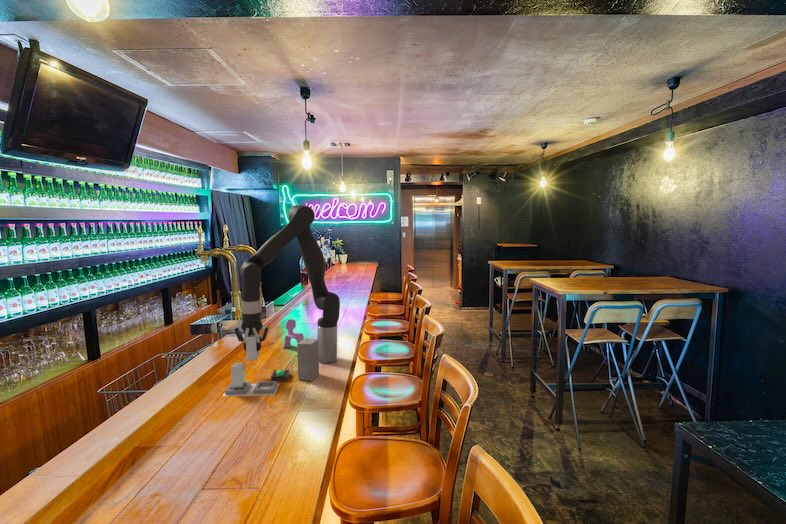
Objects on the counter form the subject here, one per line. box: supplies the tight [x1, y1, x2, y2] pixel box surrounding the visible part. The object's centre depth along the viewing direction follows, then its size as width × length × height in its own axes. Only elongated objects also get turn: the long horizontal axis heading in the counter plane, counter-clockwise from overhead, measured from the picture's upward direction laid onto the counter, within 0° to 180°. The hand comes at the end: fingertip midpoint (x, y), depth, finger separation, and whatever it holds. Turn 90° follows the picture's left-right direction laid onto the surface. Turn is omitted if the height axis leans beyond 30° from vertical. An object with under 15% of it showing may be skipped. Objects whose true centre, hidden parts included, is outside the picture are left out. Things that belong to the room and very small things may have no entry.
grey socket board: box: [221, 380, 280, 397], centre depth 141 cm, size 19×10×2 cm, turn 97°
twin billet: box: [230, 362, 246, 389], centre depth 140 cm, size 4×4×10 cm
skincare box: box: [296, 337, 320, 382], centre depth 156 cm, size 8×7×16 cm
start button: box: [276, 368, 286, 376], centre depth 152 cm, size 4×4×3 cm
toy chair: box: [282, 318, 305, 352], centre depth 189 cm, size 8×9×15 cm
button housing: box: [270, 369, 291, 382], centre depth 152 cm, size 6×6×3 cm
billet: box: [245, 335, 260, 361], centre depth 152 cm, size 4×4×10 cm
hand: (252, 350), depth 152 cm, fingers closed on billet, 4 cm apart
